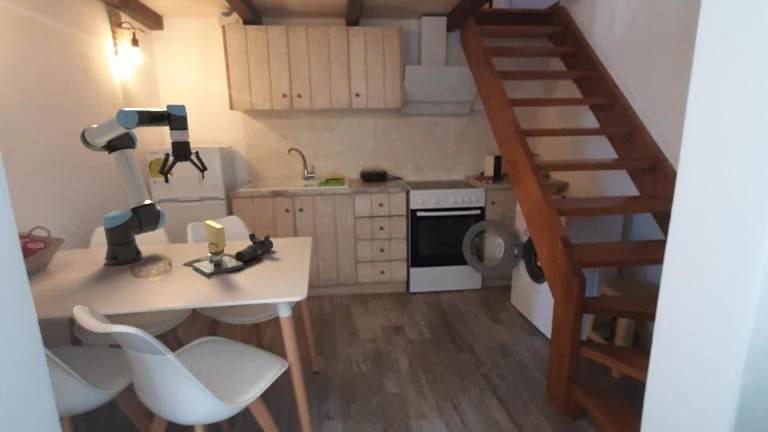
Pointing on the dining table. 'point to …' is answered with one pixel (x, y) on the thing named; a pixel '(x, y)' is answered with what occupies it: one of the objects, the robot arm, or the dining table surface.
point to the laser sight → (254, 248)
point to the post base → (217, 265)
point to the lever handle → (215, 237)
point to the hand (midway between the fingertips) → (186, 188)
